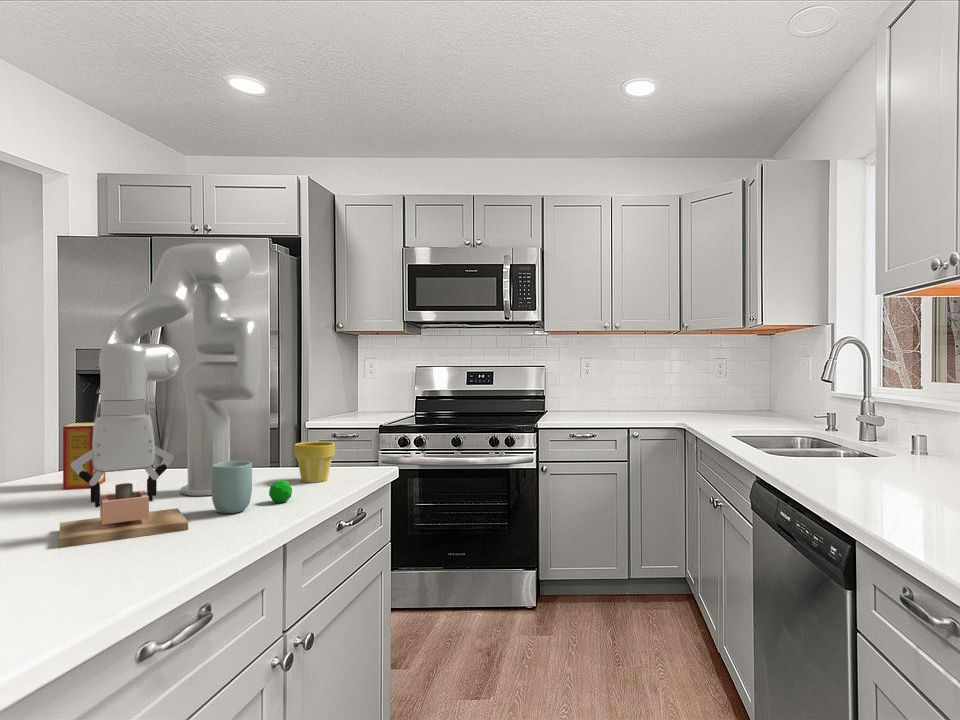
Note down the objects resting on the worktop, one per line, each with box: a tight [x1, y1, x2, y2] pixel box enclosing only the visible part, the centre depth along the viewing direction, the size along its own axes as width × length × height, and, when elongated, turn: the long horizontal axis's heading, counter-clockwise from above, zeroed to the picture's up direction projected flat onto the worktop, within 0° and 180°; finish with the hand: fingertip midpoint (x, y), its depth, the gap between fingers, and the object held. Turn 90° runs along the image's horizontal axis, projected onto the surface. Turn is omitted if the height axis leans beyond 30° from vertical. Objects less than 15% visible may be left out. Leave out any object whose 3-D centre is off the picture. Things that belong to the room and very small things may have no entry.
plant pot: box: [293, 441, 336, 483], centre depth 165 cm, size 10×10×10 cm
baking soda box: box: [62, 422, 106, 491], centre depth 159 cm, size 10×6×16 cm
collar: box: [99, 489, 150, 525], centre depth 116 cm, size 7×7×4 cm
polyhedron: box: [268, 479, 293, 504], centre depth 139 cm, size 5×5×5 cm
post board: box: [58, 482, 189, 548], centre depth 116 cm, size 20×13×8 cm, turn 124°
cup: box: [211, 460, 253, 515], centre depth 130 cm, size 8×8×10 cm
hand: (124, 502), depth 116 cm, fingers open, 8 cm apart
